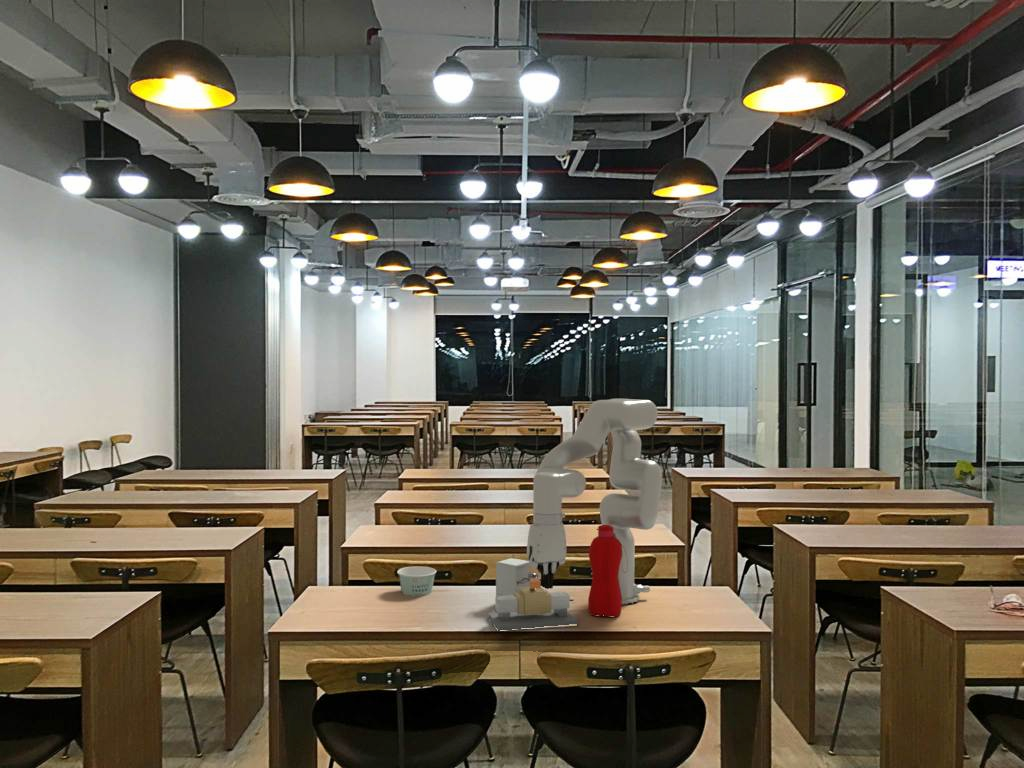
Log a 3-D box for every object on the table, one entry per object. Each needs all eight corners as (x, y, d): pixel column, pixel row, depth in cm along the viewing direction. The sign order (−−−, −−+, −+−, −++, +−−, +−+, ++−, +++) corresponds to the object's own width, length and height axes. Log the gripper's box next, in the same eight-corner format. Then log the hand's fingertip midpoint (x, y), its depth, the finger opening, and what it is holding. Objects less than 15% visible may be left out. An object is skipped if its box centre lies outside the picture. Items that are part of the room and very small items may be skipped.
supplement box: (515, 609, 250) (515, 565, 250) (494, 604, 255) (495, 561, 254) (530, 603, 256) (530, 560, 256) (510, 599, 261) (510, 557, 260)
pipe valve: (564, 611, 244) (564, 576, 243) (570, 617, 238) (571, 581, 238) (494, 615, 239) (494, 580, 238) (499, 622, 233) (499, 586, 233)
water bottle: (626, 619, 241) (627, 529, 240) (586, 617, 243) (587, 528, 243) (628, 610, 250) (629, 523, 249) (590, 607, 253) (591, 521, 252)
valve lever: (527, 578, 239) (527, 572, 239) (537, 578, 239) (537, 572, 239) (530, 588, 229) (530, 581, 229) (540, 588, 230) (541, 581, 229)
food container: (405, 599, 260) (405, 577, 260) (391, 589, 270) (391, 568, 270) (442, 594, 266) (442, 573, 265) (426, 585, 276) (427, 564, 276)
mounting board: (564, 613, 247) (564, 608, 247) (577, 626, 235) (577, 620, 235) (488, 618, 242) (488, 613, 241) (498, 631, 230) (498, 626, 230)
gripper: (563, 514, 238) (563, 580, 239) (516, 519, 231) (515, 587, 232) (578, 518, 232) (578, 587, 233) (530, 524, 225) (530, 594, 225)
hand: (547, 587), depth 232 cm, fingers closed
